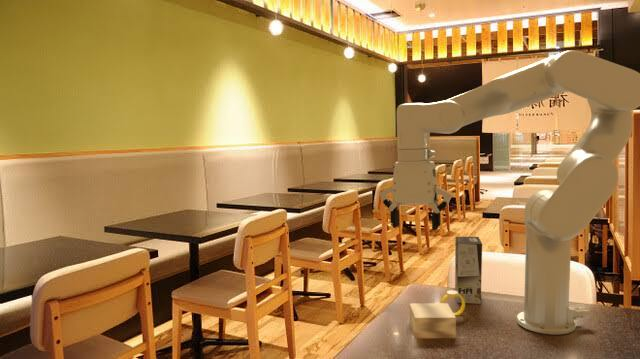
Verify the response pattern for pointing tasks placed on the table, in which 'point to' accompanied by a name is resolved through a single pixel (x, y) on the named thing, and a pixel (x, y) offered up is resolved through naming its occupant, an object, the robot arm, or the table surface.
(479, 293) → the coffee box
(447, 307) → the wood block
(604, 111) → the robot arm
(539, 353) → the table surface
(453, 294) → the watch
